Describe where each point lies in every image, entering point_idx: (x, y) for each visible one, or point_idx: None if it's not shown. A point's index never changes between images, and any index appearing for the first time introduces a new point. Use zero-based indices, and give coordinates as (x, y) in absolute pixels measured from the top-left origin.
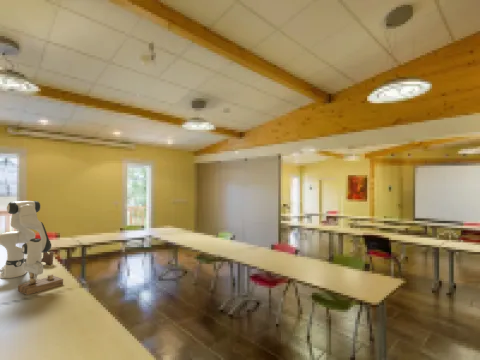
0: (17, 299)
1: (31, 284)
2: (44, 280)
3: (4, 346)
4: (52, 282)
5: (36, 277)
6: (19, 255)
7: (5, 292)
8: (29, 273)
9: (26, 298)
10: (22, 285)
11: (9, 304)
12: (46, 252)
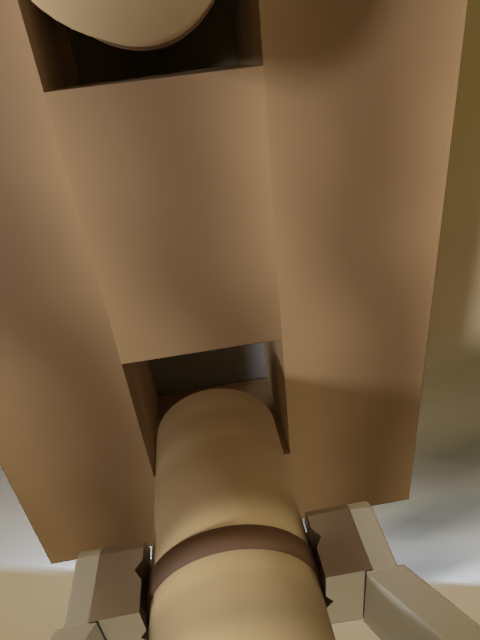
0: (407, 508)
1: (138, 403)
2: (110, 138)
3: None
4: (454, 15)
5: (379, 534)
6: None
7: (11, 562)
8: None
9: (475, 450)
10: (137, 530)
11: (470, 560)
12: None
